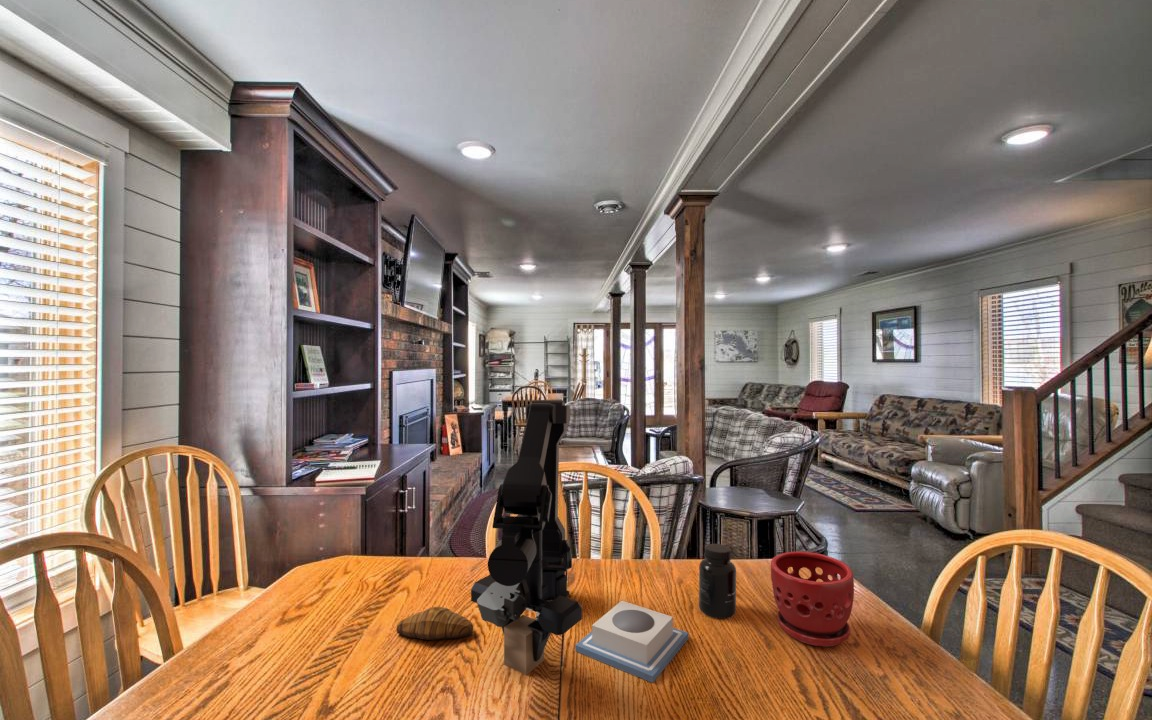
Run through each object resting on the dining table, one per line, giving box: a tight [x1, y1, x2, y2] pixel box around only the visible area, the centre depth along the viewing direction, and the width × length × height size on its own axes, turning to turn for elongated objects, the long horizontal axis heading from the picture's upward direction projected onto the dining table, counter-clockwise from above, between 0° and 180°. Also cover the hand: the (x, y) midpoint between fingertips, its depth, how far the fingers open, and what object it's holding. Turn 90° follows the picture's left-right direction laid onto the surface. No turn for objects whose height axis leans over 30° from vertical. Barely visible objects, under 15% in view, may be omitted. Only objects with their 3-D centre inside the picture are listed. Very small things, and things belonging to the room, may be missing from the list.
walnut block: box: [503, 614, 545, 676], centre depth 78 cm, size 4×4×6 cm
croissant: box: [396, 606, 474, 641], centre depth 86 cm, size 14×7×5 cm, turn 87°
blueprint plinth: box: [574, 600, 690, 684], centre depth 83 cm, size 14×14×4 cm
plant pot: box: [770, 551, 855, 648], centre depth 87 cm, size 13×13×12 cm
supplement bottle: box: [698, 543, 737, 620], centre depth 94 cm, size 7×7×12 cm
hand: (524, 654), depth 78 cm, fingers open, 5 cm apart
